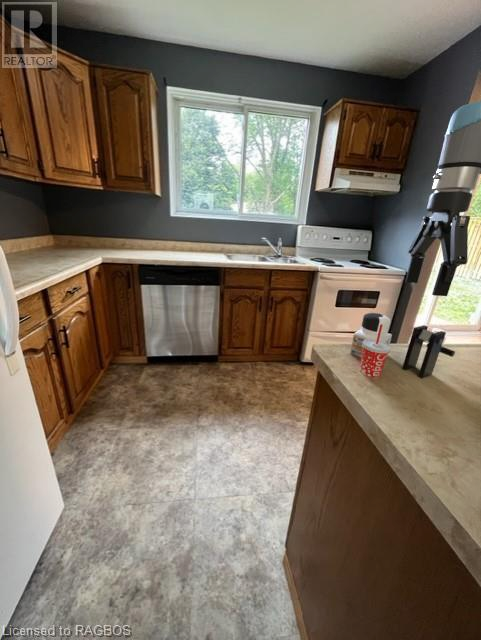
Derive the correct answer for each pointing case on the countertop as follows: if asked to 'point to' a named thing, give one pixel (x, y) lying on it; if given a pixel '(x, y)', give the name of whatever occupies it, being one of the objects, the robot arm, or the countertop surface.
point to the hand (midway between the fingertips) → (423, 288)
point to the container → (370, 332)
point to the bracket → (430, 353)
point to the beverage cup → (374, 356)
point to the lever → (426, 338)
